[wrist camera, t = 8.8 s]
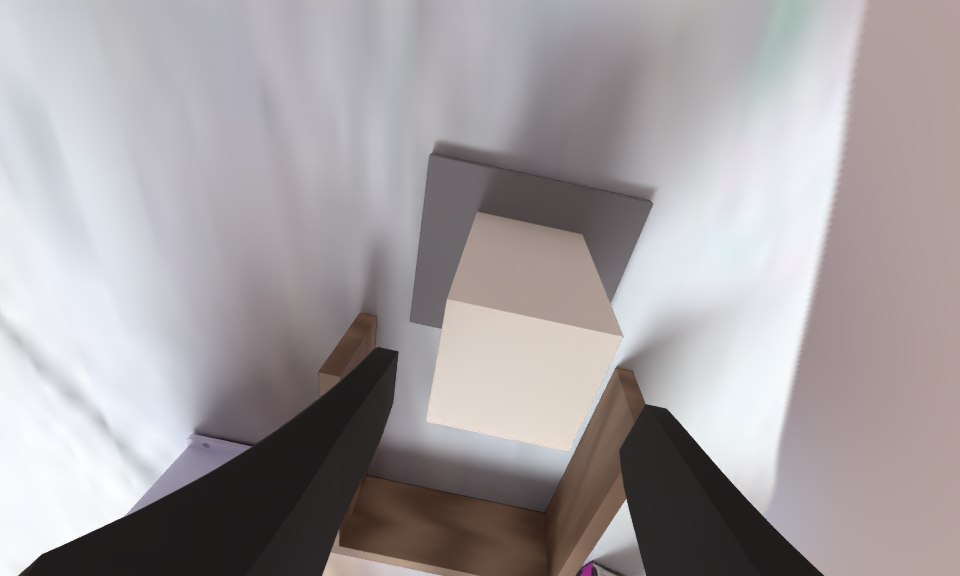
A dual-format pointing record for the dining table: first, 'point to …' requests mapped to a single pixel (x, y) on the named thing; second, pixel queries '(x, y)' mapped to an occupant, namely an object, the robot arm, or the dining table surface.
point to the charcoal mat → (520, 197)
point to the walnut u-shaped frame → (482, 524)
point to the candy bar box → (596, 571)
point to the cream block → (523, 335)
